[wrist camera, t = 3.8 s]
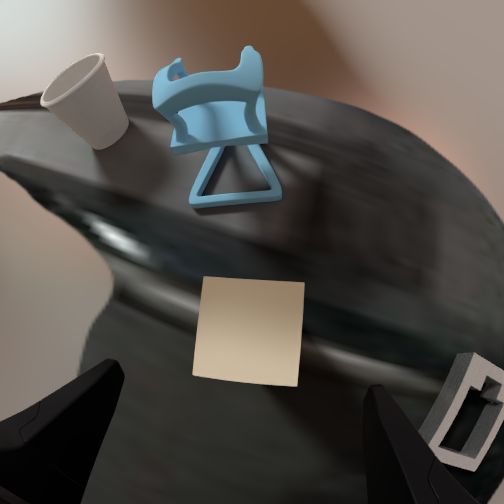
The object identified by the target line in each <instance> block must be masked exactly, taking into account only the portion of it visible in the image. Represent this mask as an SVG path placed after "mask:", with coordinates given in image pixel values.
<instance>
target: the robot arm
mask: <svg viewBox="0 0 504 504" xmlns="http://www.w3.org/2000/svg"><path fill="white" fill-rule="evenodd" d="M124 378H125V376H124V372H123V370H122V368H121V366H120V364H119V362H118V361H117V360H114V359H110V358H108V359H106V360H104V361H102V362H101V363H99V364H98V365H96V366H95V367H93V368H91V369H90V370H88V371H87V372H85V373H83V374H82V375H80V376H79V377H77V378H76V379H74V380H73V381H71V382H69V383H68V384H66V385H64V386H63V387H61V388H60V389H58V390H56V391H55V392H53V393H52V394H50V395H48V396H47V397H45V398H44V399H42V400H41V401H39V402H37V403H35V404H34V405H32V406H30V407H29V408H27V409H25V410H23V411H21V412H19V413H17V414H15V415H13V416H11V417H9V418H7V419H5V420H3V421H1V422H0V504H80V503H81V500H82V497H83V494H84V491H85V488H86V485H87V482H88V479H89V477H90V474H91V471H92V468H93V465H94V463H95V460H96V457H97V455H98V452H99V449H100V447H101V444H102V442H103V439H104V437H105V434H106V432H107V429H108V427H109V424H110V422H111V419H112V417H113V414H114V412H115V409H116V406H117V402H118V399H119V395H120V392H121V389H122V386H123V382H124ZM363 444H364V455H365V466H366V479H367V494H368V504H480V503H478V502H477V501H476V500H475V499H474V498H473V497H472V496H471V495H470V494H469V493H468V492H467V491H466V490H465V489H464V488H463V487H462V486H461V485H460V484H459V483H458V482H457V481H456V480H455V478H454V477H453V476H452V475H451V474H450V473H449V472H448V470H447V469H446V468H445V467H444V465H443V464H442V463H441V461H440V460H439V459H438V457H437V456H435V453H434V452H433V451H432V449H431V448H430V447H429V445H428V444H427V443H426V441H425V440H424V439H423V437H422V436H421V435H420V433H419V432H418V431H417V429H416V428H415V427H414V425H413V424H412V423H411V422H410V420H409V419H408V418H407V416H406V415H405V414H404V412H403V411H402V410H401V408H400V407H399V406H398V404H397V403H396V402H395V401H394V399H393V398H392V397H391V395H390V394H389V393H388V392H387V390H386V389H385V388H384V386H383V385H380V384H379V385H371V386H370V387H369V389H368V391H367V393H366V396H365V398H364V402H363Z"/></svg>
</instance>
